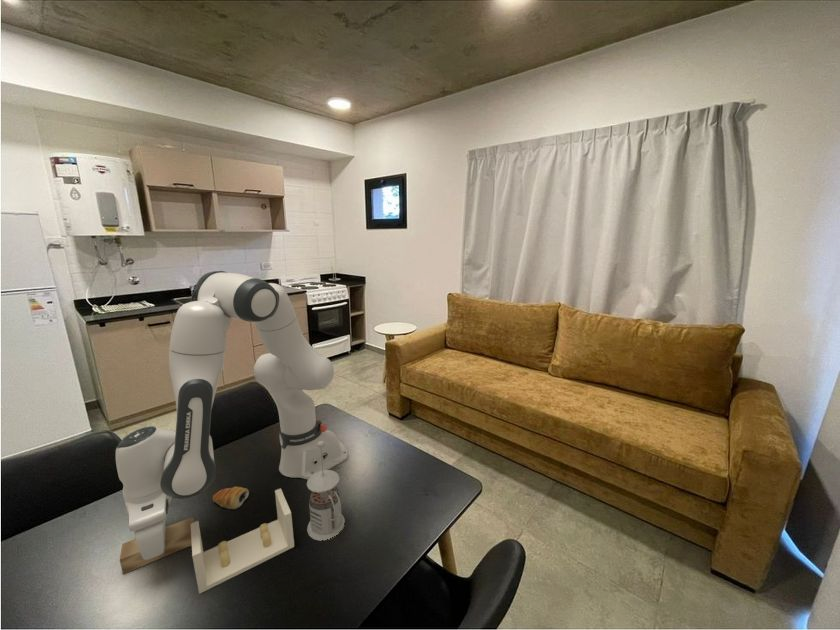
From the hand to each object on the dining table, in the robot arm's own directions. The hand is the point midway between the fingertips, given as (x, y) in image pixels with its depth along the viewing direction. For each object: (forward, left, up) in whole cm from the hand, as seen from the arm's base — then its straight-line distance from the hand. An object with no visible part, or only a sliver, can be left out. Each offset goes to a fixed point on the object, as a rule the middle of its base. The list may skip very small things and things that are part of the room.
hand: (160, 543), depth 83 cm
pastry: (-16, -8, -3) cm, 18 cm away
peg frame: (-17, +12, -2) cm, 21 cm away
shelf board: (0, 0, -2) cm, 2 cm away
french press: (-36, +16, -2) cm, 40 cm away
